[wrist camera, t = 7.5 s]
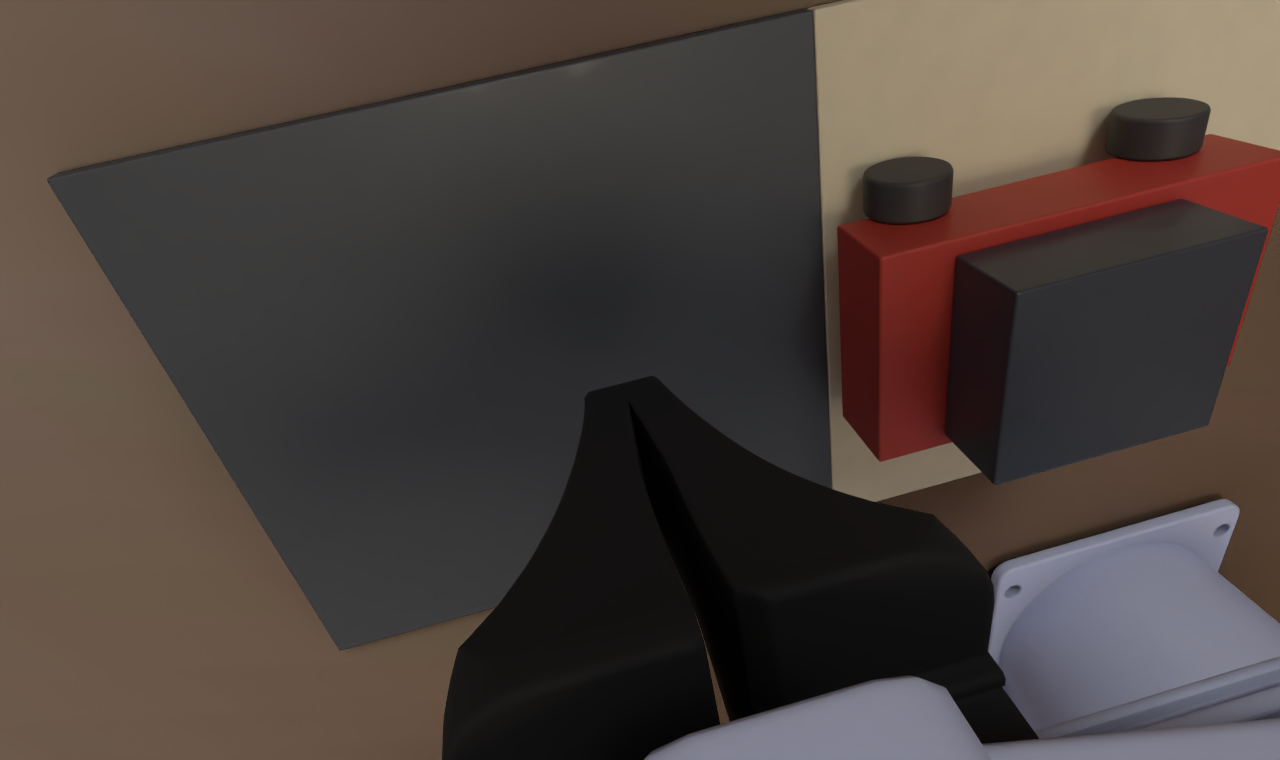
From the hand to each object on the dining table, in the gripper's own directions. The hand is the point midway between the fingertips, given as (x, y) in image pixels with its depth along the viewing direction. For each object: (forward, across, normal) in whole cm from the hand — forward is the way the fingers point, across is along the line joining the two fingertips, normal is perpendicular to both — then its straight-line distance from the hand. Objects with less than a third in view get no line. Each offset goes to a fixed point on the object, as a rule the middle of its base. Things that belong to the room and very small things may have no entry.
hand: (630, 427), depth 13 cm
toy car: (+2, -9, 0) cm, 9 cm away
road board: (+3, -4, 0) cm, 5 cm away
